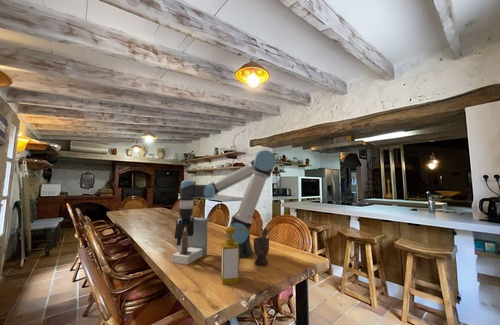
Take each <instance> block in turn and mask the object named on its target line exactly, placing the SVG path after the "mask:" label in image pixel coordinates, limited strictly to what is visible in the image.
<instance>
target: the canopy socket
mask: <svg viewBox="0 0 500 325" xmlns="http://www.w3.org/2000/svg"><path fill="white" fill-rule="evenodd" d="M193 217H194V221H193V224H194V234H193V236H191V243H190V248H188V250H187V255H181V254H180V252H178V251H176V252H175V253H173V254H172V260H171V262H172V263H173V262H174V264H181V265H188V266H189V264H191V263H193V262H194V261H196V260H198V259H200V258H201V257H202V256H207V254H208V253H207V252H208V222H209V221H210V219H209V217H195V216H193ZM191 232H192V231H191Z"/></svg>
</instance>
